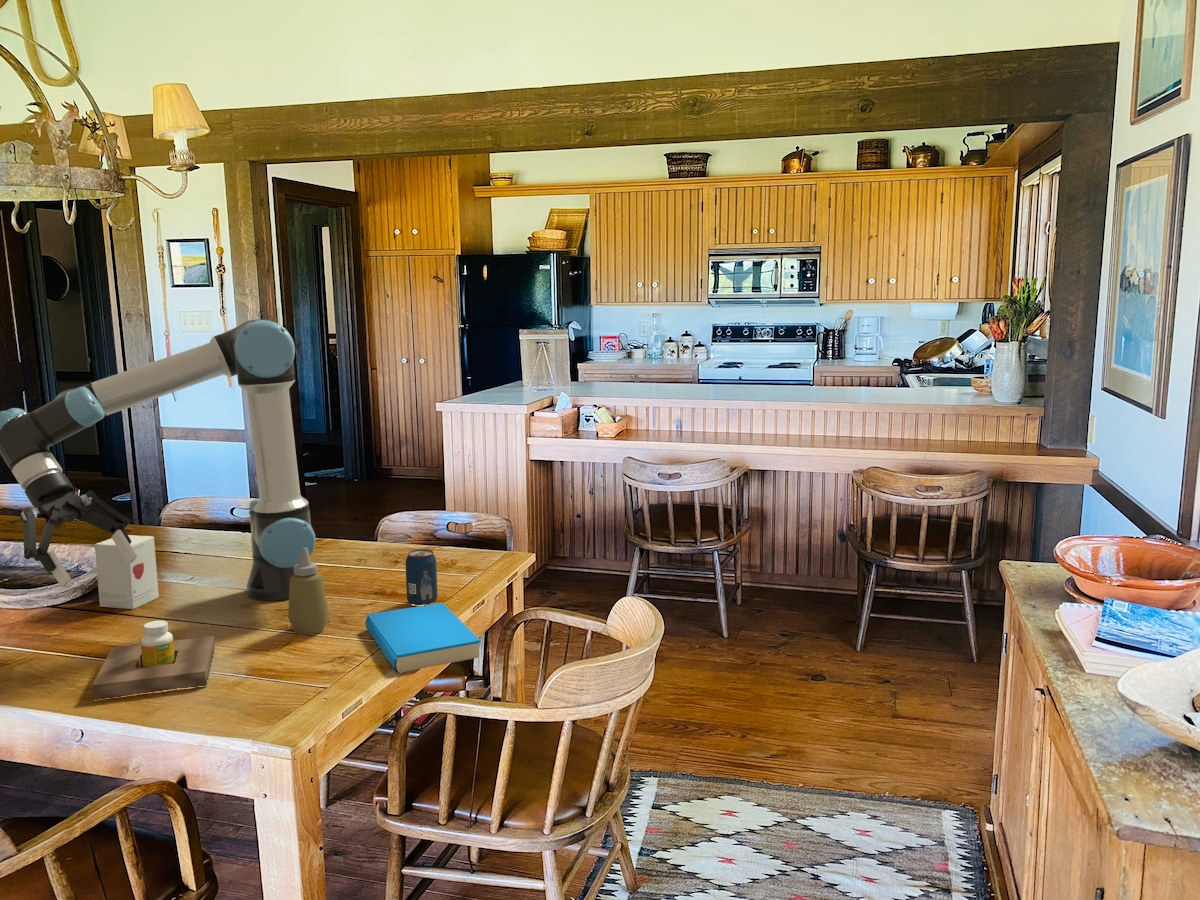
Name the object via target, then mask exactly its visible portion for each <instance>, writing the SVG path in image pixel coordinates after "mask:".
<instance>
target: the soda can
mask: <svg viewBox="0 0 1200 900" xmlns="http://www.w3.org/2000/svg"><path fill="white" fill-rule="evenodd" d="M437 570H438V569H437V558H436V556H435V554H434V551H433V550H431V549H427V548H426V549H425V548H424V549H423V548H422V549H413V550H410V551H409V552H407V557H406V559H405V584H406V599H407V602H408V603H409V604H410V603H411V604H415V605H422V604H430V603H433V602H435V603H436V601H437V600H438V596H439V595H438V572H437Z"/></svg>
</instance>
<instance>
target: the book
mask: <svg viewBox="0 0 1200 900" xmlns="http://www.w3.org/2000/svg"><path fill="white" fill-rule="evenodd" d="M365 629H366V630H367V631H368V633H369V635H370V636H371V635H372V636H371V637H372V638H374V639H373V640H374V641H376V642H375V644H377V646H378V647H379V649H380V648H381V649H380V650H381V652H382V651H383V652H382V653H383V654H385V655H386V656H385V655H384V656H385V658H386V657H387V658H388V659H387V658H386V659H387V661H388V662H389V661H390V662H389V664H390V665H391V664H392V665H391V666H392V668H393V667H394V668H393V669H394V671H396V672H397V673H400V674H401V673H405V672H410V671H415V670H416V671H417V670H421V669H425V668H430V667H431V668H432V667H436V666H440V665H441V666H442V665H445V664H446V665H448V664H451V663H452V664H453V663H457V662H462V661H467V660H473V659H478V658H480V646H479V645H480V643H481V639H480V638H479V637H478V636H477V635H475V634H474V632H473V631H472V630H471V629H470V628H469V627H467V626H466V624H464V622H462V620H460V619H459V617H458V616H457V615H455V613H454V612H453V611H452V610H451V609H450V608H448V607H447V605H445V604H444V603H443V602H438V603H434V604H431V605H424V606H418V607H414V606H412V607H407V608H399V609H395V610H387V611H381V612H376V613H375V612H374V613H369V614H367V617H366V619H365Z"/></svg>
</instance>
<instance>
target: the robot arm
mask: <svg viewBox="0 0 1200 900" xmlns="http://www.w3.org/2000/svg"><path fill="white" fill-rule="evenodd" d="M295 354H296V347H295V342H294V339H293V337H292V336H291V334H290V333H289V331H288V330H287V329H286V328H285V327H283V325H281V324H279V323H278V322H276V321H272V320H269V319H251V320H247V321H245V322H242V323H241V324H239V325H237V326H235V327H233V328H231V329H229V330H227V331H225V332H222V333H220V334H216V335H213V336H211V339H210V341H209V342H208V343H204V344H202V345H199V346H197V347H193V348H190V349H187V350H184V351H182V352H179V353H175V354H171V355H169V356H167V357H164V358H160V359H158V360H155V361H152V362H149V363H146V364H143V365H139V366H137V367H134V368H132V369H128V370H126V371H121V372H119V373H117V374H113V375H110V376H107V377H105V378H101V379H99V380H95V381H92V382H91V383H88V384H84V385H81V386H78V387H75V388H69V389H66V390H63V391H61V392H59V394H57V395H56V396H55V397H54V399H53V400H52V401H50V402H47V403H46V404H44V405H42V406H40V407H39V408H36V409H34V410H32V411H30V412H28V413H27V412H26V410H24V409H22V408H18V407H12V408H9V409H6V410H2V411H0V457H2V459H3V461H4V462H5V464H6V465H7V466H8V468H9V470H10V471H11V473H12V475H13V476H14V477H15V479H16V481H17V482H18V484H19V485H20V487H21V489H22V490H24V494H25V495H26V497H27V498H28V500H29V502H30V504H31V505H32V506H33V508H32V507H30V506H26V507H24V508H23V510H22V512H21V513H20V515H19V517H20V519H21V522H22V524H23V558H24V559H26V560H30V559H34V561H36V562H40V563H41V566H43V568H44V570H45V572H47V573H52V575H53V576H54V578H55V579H56V582H57V583H58V584H59V585H60V588H65V587H66V586H67V585H68V584H69V583H70V582H71V580H72V578H71V576H70V575H69V573H68V572H67V570H66V569H65V566H64V565H63V564H62V562H61V561H60V559H59V557H58V556H57V554H56V552H55V551H54V550H50V551H49V548H50V544H51V540H52V537H53V534H54V530H55V527H56V525H58V526H60V525H63V524H66V523H72V522H74V521H76V520H77V521H80V522H86V523H88V524H91V525H92V526H94V527H95V528H98V529H102V530H103V531H106V532H107V533H110V534H112V536H111V538H112V539H113V541H114V543H115V544H116V546H117V547H118V549H119V550H120V552H121V554H122V555H123V557H124V558H125V560H126V561H127V563H128V564H130V563H132V562H133V561H134V560H135V558H136V557H137V555H136V553H135V552H134V550H133V548H132V547H131V545H130V544H131V539H130V538H129V536H128V535H129V534H128V533H127V532H126V530H125V529H126V528H128V526H129V525H130V523H131V520H130V518H128V517H127V516H125V515H123V514H122V513H121V512H119V511H117V510H116V509H115V508H113V507H112V506H110V505H109V504H108V503H106V502H105V501H103V500H102V499H100V498H99V497H98V495H97V494H96V493H95V491H93V490H91V489H90V490H88V491H87V492H86V493H85V494H82V495H79V494H77V492H75V488H74V486H73V484H72V483H71V482H70V479H69V478H68V477H67V475H66V474H65V473H63V468H62V466H61V465H60V464H59V462H58V461H57V459H56V458H55V456H54V454H53V453H52V451H51V450H50V447H52V446H54V445H56V444H58V443H60V442H62V441H63V440H66V439H67V438H69V437H71V436H73V435H76V434H77V433H80V431H83V430H84V429H87V428H88V427H89V428H90V427H92V426H93V425H95V424H96V423H98V422H99V421H101V420H103V419H104V418H105V417H106V416H109V415H111V414H114V413H115V414H116V413H118V412H121V411H124V410H126V409H129V408H132V407H135V406H137V405H141V404H145V403H146V402H149V401H152V400H156V399H158V398H160V397H163V396H167V395H169V394H173V393H174V392H178V391H180V390H183V389H185V388H186V389H187V388H188V387H189V388H190V387H192V386H195V385H198V384H200V383H203V382H206V381H209V380H213V379H215V378H218V377H221V376H227V377H229V378H232V377H234V376H236V377H237V383H238V387H240V388H241V389H242V390H244V391H245V392H246V395H247V396H246V398H247V405H248V412H249V420H250V422H249V423H250V429H251V436H252V437H251V438H252V445H253V446H252V447H253V453H254V455H253V457H254V463H255V471H256V481H257V488H258V489H257V490H258V497H259V498H255V499H253V500H251V501H250V502H249V507H248V508H249V510H248V515H249V524H250V536H251V550H252V564H251V567H250V572H249V576H248V579H247V584H246V594H247V597H249V598H251V599H253V600H258V601H267V602H268V601H270V602H271V601H282V600H283V601H284V600H289V587H290V578H291V577H292V576H293V575H295V574H294V566H295V565H296V564H299V560H300V554H301V549H302V548H307V549H308V552H309V556H310V557H311V555H312V554H313V552H314V550H315V546H316V533H315V531H314V529H313V526H312V523H311V513H310V505H309V504H310V503H309V501H308V500H307V498H305V497H303V496H302V495H301V489H300V488H301V486H300V480H299V471H298V469H299V468H298V461H297V460H298V459H297V453H296V441H295V434H294V425H293V416H292V414H293V413H292V407H291V406H292V405H291V397H290V388H291V387H292V386H293V384H294V383H295V382H296V378H295V377H296V376H295V368H294V367H295V366H294V359H295V357H296V356H295ZM38 517H40V518H42V519H44V520H45V521H44V524H43V530H42V533H41V536H40V540H39V544H38V547H37V523H36V521H37V519H36V518H38ZM111 538H110V539H111Z"/></svg>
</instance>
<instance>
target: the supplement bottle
mask: <svg viewBox="0 0 1200 900" xmlns="http://www.w3.org/2000/svg"><path fill="white" fill-rule="evenodd" d="M168 625H169V624H168V621H167V620H153V621H152V620H151V621H149V622H145V623H144V624H143V633H144V634H145V635H143V636H142V637H141V638H140V644H141V652H142V664H143V667H149V666H157V665H166V664H174V663H175V658H174V644H173V641H174V636H173V634H172V633H171V632H169V627H168Z"/></svg>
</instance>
